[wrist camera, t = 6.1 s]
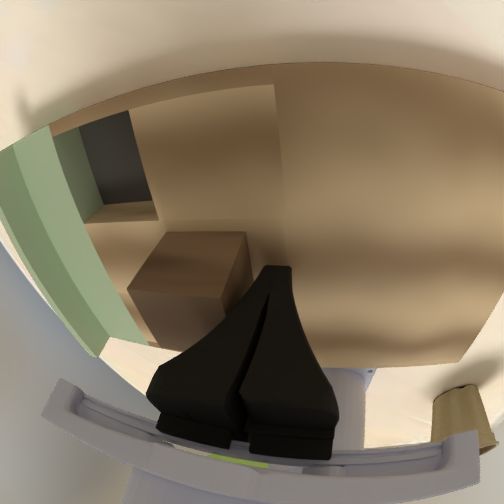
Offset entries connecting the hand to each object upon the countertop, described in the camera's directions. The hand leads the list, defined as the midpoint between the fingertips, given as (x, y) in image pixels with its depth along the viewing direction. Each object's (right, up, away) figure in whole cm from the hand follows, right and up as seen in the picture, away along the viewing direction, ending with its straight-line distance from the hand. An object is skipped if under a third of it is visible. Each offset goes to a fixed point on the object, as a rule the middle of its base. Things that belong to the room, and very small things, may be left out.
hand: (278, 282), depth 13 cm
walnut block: (-3, +1, +1) cm, 4 cm away
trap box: (-1, +2, +3) cm, 4 cm away
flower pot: (+23, -16, +11) cm, 30 cm away
